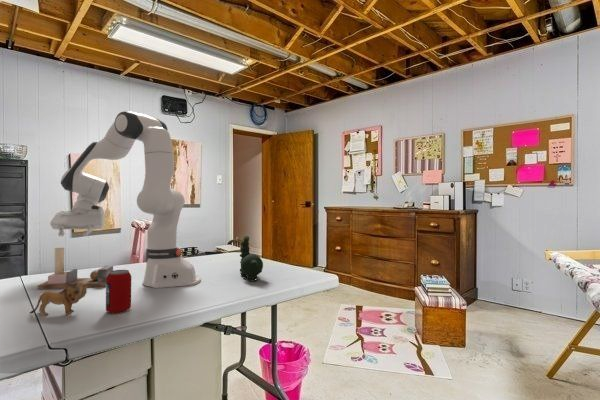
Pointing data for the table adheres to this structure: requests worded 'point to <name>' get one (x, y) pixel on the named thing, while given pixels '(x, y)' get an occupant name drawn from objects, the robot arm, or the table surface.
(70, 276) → the press slider
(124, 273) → the beverage can
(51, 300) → the lion figurine
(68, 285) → the press base
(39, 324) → the table surface
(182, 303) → the table surface
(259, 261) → the toy figurine
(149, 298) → the table surface
